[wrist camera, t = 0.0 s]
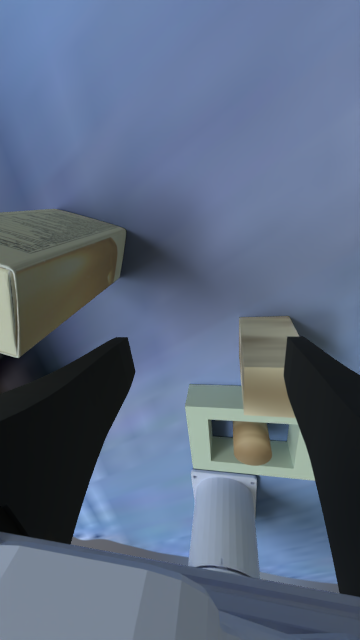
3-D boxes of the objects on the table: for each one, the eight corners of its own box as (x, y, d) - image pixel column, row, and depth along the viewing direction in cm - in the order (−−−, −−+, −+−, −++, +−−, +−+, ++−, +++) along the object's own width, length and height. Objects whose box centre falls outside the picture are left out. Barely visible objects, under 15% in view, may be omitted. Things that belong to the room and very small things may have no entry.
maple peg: (284, 356, 22) (307, 418, 16) (239, 356, 23) (243, 415, 17) (288, 316, 20) (315, 368, 14) (239, 317, 21) (244, 367, 15)
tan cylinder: (265, 431, 26) (271, 467, 23) (232, 429, 27) (233, 463, 24) (266, 407, 25) (273, 442, 21) (232, 406, 26) (233, 439, 22)
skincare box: (54, 259, 22) (-119, 320, 11) (54, 206, 19) (-159, 217, 9) (123, 280, 21) (18, 365, 10) (131, 229, 19) (9, 269, 8)
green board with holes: (436, 462, 24) (461, 495, 22) (196, 443, 29) (193, 468, 26) (473, 393, 20) (509, 422, 18) (189, 384, 25) (185, 406, 23)
